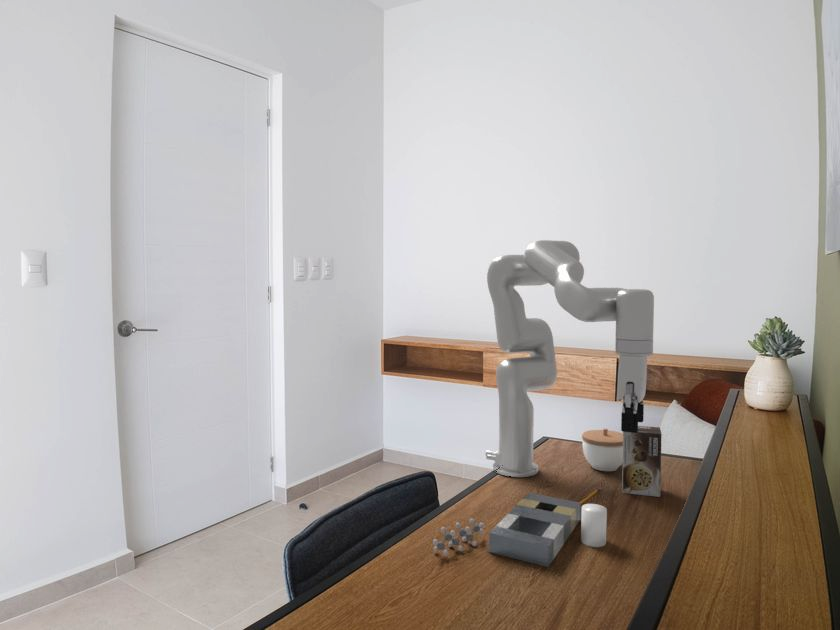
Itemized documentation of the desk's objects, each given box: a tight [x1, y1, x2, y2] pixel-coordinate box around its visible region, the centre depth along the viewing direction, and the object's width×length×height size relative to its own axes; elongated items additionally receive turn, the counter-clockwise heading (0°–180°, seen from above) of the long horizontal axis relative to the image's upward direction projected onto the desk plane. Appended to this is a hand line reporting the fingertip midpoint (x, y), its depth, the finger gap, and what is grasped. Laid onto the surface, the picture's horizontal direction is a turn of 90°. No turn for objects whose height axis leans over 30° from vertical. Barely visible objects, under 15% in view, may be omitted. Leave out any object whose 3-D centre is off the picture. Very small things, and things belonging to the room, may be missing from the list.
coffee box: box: [621, 425, 663, 498], centre depth 148 cm, size 9×6×16 cm
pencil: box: [579, 487, 602, 506], centre depth 143 cm, size 19×1×1 cm, turn 141°
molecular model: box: [432, 518, 485, 556], centre depth 118 cm, size 14×4×5 cm, turn 130°
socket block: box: [488, 492, 581, 568], centre depth 124 cm, size 12×24×4 cm, turn 151°
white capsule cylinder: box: [580, 503, 608, 548], centre depth 121 cm, size 5×5×7 cm
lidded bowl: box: [581, 428, 623, 472], centre depth 166 cm, size 13×13×11 cm
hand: (632, 426), depth 126 cm, fingers open, 9 cm apart
